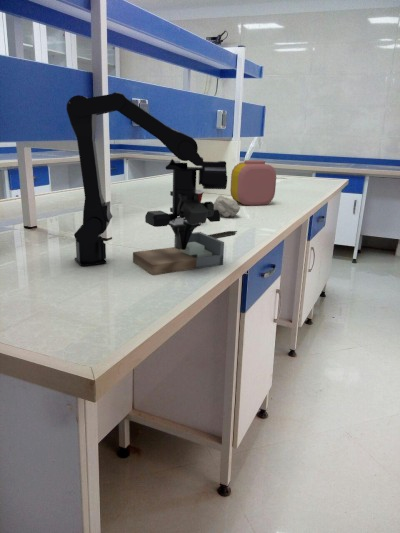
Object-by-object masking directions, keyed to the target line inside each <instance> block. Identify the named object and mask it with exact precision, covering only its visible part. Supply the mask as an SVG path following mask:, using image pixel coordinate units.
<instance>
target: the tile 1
mask: <svg viewBox="0 0 400 533" xmlns="http://www.w3.org/2000/svg"><path fill="white" fill-rule="evenodd" d="M180 251H181V252H183V253H186V254H188V255H196V254H202V253H204V245H202V244H199V243H197V242H190V243H188V244H187V246H186V249H185V250H182V249H181V248H180Z"/></svg>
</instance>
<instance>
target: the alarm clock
mask: <svg viewBox="0 0 400 533" xmlns="http://www.w3.org/2000/svg"><path fill="white" fill-rule="evenodd" d="M230 175H231V176H230V190H229V192H230V195H231V197H232V198H231V199H232V200H234V201H236V202H237V203H240V204H242V205H243V206H265V205H268V204H269V203H271V202H272V200H273V199H274V198H275V195H276V186H277V172H276V170H275V168H274V166H272V164H271V165H270V164H267V163H266V160H262V159H261V160H259V159H258V160H257V159H246V160H245V159H244V162H240V163H239V162H238V163H237V164H236V165H235V166H234V167H233V169H232V170H231V174H230Z"/></svg>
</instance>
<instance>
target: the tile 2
mask: <svg viewBox="0 0 400 533" xmlns="http://www.w3.org/2000/svg"><path fill="white" fill-rule="evenodd" d="M190 256H192V257H194V258H198V257H205V256H212V252H210V251H208V250H205V249H204V253H202V254H196V255H190Z"/></svg>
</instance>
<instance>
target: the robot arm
mask: <svg viewBox="0 0 400 533" xmlns="http://www.w3.org/2000/svg"><path fill="white" fill-rule="evenodd" d="M113 112H118V113H120V114H121V115H122V116H124V117H126V118H127V119H128V120H130V121H131V122H133V123H134V124H136V125H137V126H139V128H142V129H143V130H144V131H146V132H148V134H150V135H152V136H153V137H155V138H156V139H157V140H159V142H161V143H162V145H164V146H165V147H166V148H167V149H168V150H169V151H170V152H171V153H172V154H173V156H175V157H176V158H177V159H178V160H180V161H183V162H176V161H175V160H174V159H173V158H171V160H170V162H169V163H167V164H166V165H165V169H166V170H167V171H168V170H169V171H172V191H170V193H169V195H170V196H171V197H172V207H170V208H169V212H171V213H168V212H165V211H162V210H153V211H151V210H150V211H149V210H148V211H147V212H146V214H145V217H144V219H145V221H144V223H146V224H148V225H151V227H155V228H158V227H159V228H160V227H167V226H169V227H170V228H171V230H172V231H173V233H174V237H175V236H176V238H177V241H178V243H179V246H180V248H181V249H182V250H185V249H186V246H187V244H188V241H189V239H190V236H191V234H192V233H194V230H195V229H196V228H198V227H200V226H201V224H205V223H207V220H208V221H209V222H210V223H213V222H220V221H221V215H220V212H219V211H218V210H217V209H214V202H212V201H205V202H201V203H200V202H199V196H198V194H197V193H196V189H197V171H198V185H200V186H201V187H202V190H227V186H228V175H227V174H228V173H227V162H226V160H218V161H207V160H206V161H204V157H202V156H201V155H200V154H199V153H198V150H199V149H198V148H199V147H198V143H197V141H196V140H195V139H194V137H191V136H190V135H188V134H185V133H184V132H181V131H179V130H177V129H175V128H173V127H170V126H169V125H166V124H165V123H163V122H162V121H161V120H159V119H158V118H156V117H154V115H152V114H150V113H149V112H148V111H146V110H145V109H143V108H141V107H140V106H139V105H137V104H135V102H133V101H132V100H130V99H128V97H126V94H125V95H124V94H123V93H122V92H119V91H116V92H113V93H108V94H103V95H97V96H92V97H87V96H84V95H81V94H80V95H78V94H77V95H74V96H72V97H70V99H69V100H68V101H67V103H66V113H67V115H68V119H69V123H70V125H71V128H72V130H73V133H74V135H75V138H76V143H77V148H78V155H79V164H80V165H79V166H80V171H81V177H82V178H81V179H82V186H83V192H84V204H83V210H82V211H83V212H82V216H83V217H82V224H81V225H80V227H79V228H78V229H77V230H76V231H75V233H74V234H73V235H74V238H75V239H74V240H75V255H76V257H74V261H76V263H77V264H78V265H80V266H81V267H86V266H87V267H88V266H95V265H102V264H103V265H104V264H107V260H106V259H107V249H106V248H107V247H106V242H104V238H103V237H102V236H101V235H102V234H104V233H105V231H106V230H107V229H108V227H109V225H110V222H111V220H112V218H113V214H112V213H111V201H110V200H109V201H105V199H104V197H103V194H102V187H101V177H100V171H99V163H98V162H99V161H98V154H97V147H96V137H95V136H96V129H97V116H99V115H100V116H101V115H104V114H109V113H113ZM188 162H190V163H192V164H193V165H194V166H188ZM180 216H181V217H180Z"/></svg>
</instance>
